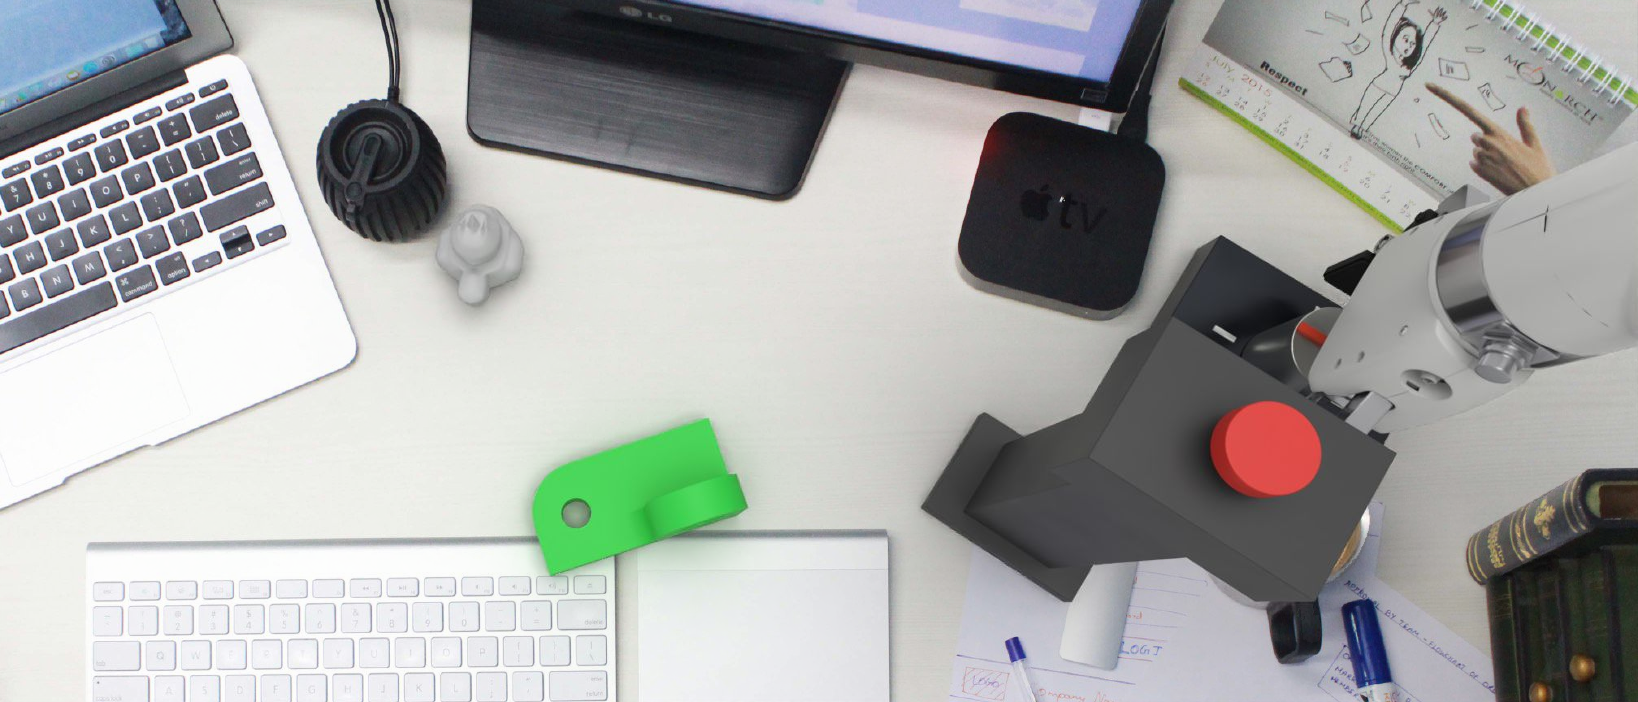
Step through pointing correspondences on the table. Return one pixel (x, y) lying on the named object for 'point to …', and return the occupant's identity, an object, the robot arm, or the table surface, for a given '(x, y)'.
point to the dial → (1292, 347)
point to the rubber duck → (480, 252)
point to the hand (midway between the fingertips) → (1307, 355)
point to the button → (1266, 449)
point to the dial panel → (1240, 299)
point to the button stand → (1158, 479)
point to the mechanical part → (636, 496)
